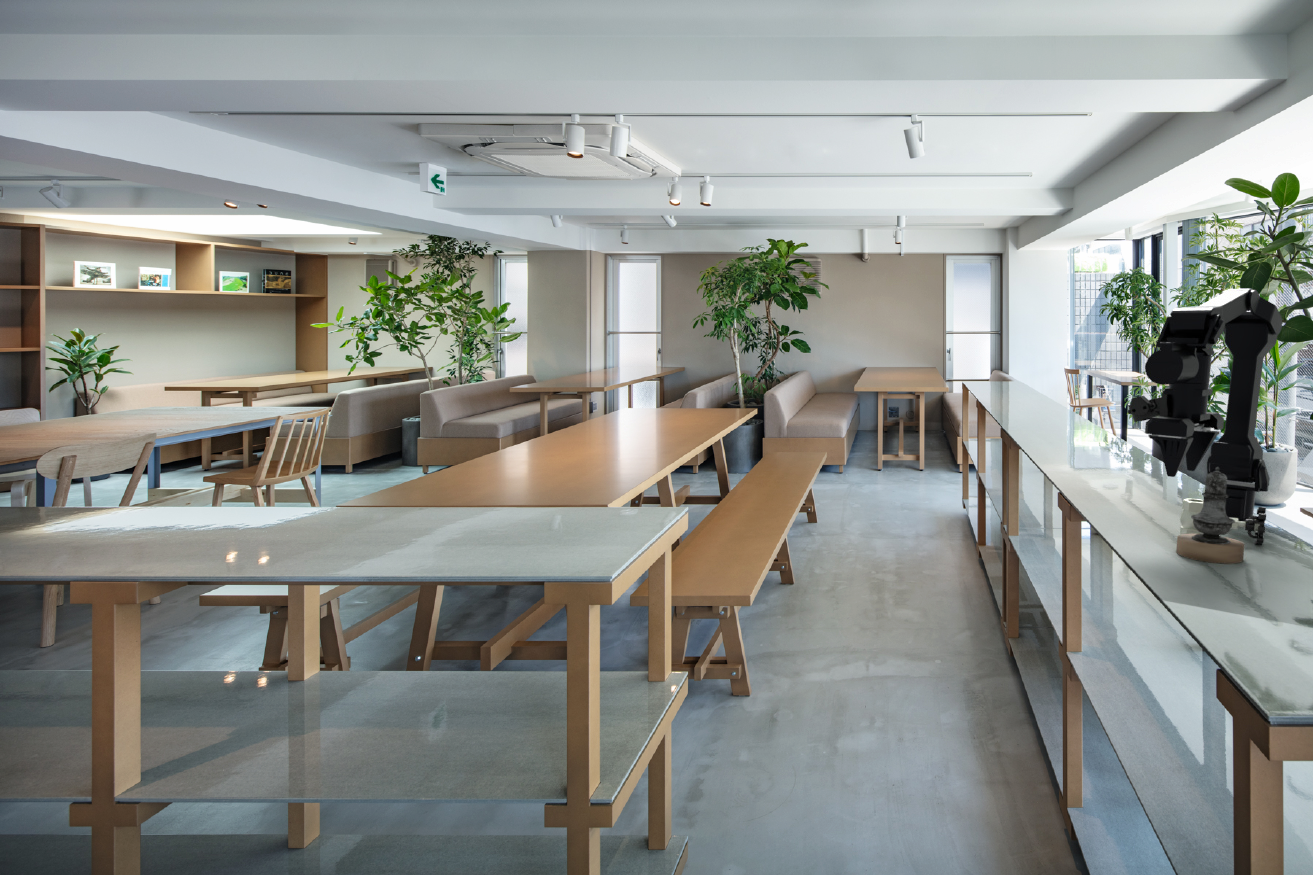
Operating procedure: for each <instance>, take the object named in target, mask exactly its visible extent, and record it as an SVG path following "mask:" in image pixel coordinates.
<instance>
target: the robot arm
mask: <svg viewBox="0 0 1313 875" xmlns="http://www.w3.org/2000/svg"><path fill="white" fill-rule="evenodd" d="M1282 327H1283V317H1282V315H1281V313H1280V311H1279V309H1278V307H1277V305H1276V304H1274V303H1272V302H1270V301H1269V300H1267V299H1265V298H1263V297H1261V296H1260V294H1259V292H1258V291H1257V289H1253V288H1229V289H1226V290H1223V291H1221V293H1220V294H1219V295H1217V296H1215V297H1213V298H1211V299H1210V300H1208V301H1206V302H1204V303H1202V304H1200V305H1198V306H1197V305H1196V306H1181V307H1176V308H1174V309H1173V310H1171V311H1170V314H1169V315H1168V316H1167V318H1166V319H1165V322H1164V324H1163V327H1162V329H1161V331H1160V333H1159V336H1158V339H1157V341H1156V343H1155V347H1156V348H1159V349H1158V350H1156V351H1155V352H1153V353H1152V354H1150V355H1149V357H1148V358H1147V360H1146V362H1145V364H1144V371H1145V374H1146V377H1147V378H1148V379H1149V380H1150V381H1151V382H1153V383H1154V384H1157V385H1168V387H1164V389H1162V392H1161V396H1159V397H1156V398H1152V399H1151V398H1150V399H1148V397H1146V396H1144V395H1141V396H1136V397H1132V398H1131V400H1130V404H1128V409H1127V414H1128V415H1131V416H1132V419H1133V422H1134V423H1138V422H1144V421H1146V422H1145V426H1144V427H1145V428H1144V434H1146V435H1148V438H1149V439H1152V440H1153V441H1154V442H1155V443H1156V444H1157V445H1158V446H1159V448H1160V452H1161V455H1162V460H1163V464H1164V469H1165V472H1166V475H1167V477H1171V478H1176V475H1177V474H1178V472H1179V470H1180V468H1181V465H1182V463H1183V462H1184V459H1185V464H1186V470H1187V471H1189V472H1190V471H1191V472H1195V471H1196V470H1197V468H1198V466H1199V465H1200V463H1201V462H1202V459H1203V458H1204V456H1205V455H1206V453H1207V452H1208V451H1209V448H1210V455H1209V456H1208V458H1207V460H1206V461H1207V462H1206V471H1207V472H1206V474H1207V475H1208V474H1209V473H1212V472H1214V471H1216V470H1215V469H1216V467H1219V469H1220V470H1219V472H1221V473H1223V474H1224V475H1226V477H1227V486H1226V495H1228V498H1226V503H1225V511H1226V515H1227V516H1228V517H1230V518H1238V521H1243V522H1245V520H1246V519H1249V517H1252V516H1255V514H1254V511H1255V502H1256V501H1255V499H1256V493H1259V492H1269V486H1270V475H1269V472H1268V469H1267V466H1266V463H1265V460H1264V459H1263V458H1264V449H1263V447H1262V446H1261V444H1260V443H1259V441H1258V439H1257V437H1256V436H1255V432H1256V424H1257V415H1258V408H1259V407H1258V406H1259V401H1260V400H1259V399H1260V391H1261V390H1260V389H1261V381H1262V374H1263V366H1264V358H1265V357H1266V356H1267V355H1268V353H1270V351H1271V350H1272V349H1273V347H1275V346H1276V344H1277V341H1278V340H1277V339H1278V336H1279V335H1280V333H1281V331H1282ZM1223 333H1224V344H1225V345H1226V347H1227V348H1228V351H1229V352H1230V353H1231V355H1232V362H1231V363H1232V364H1231V372H1230V373H1231V374H1230V380H1229V389H1228V390H1229V391H1228V399H1227V405H1226V406H1227V407H1226V414H1225V415H1226V416H1225V418H1224V417H1223V416H1222V415H1221V414H1220V413H1219V412H1211V411H1210V412H1209V411H1208V401H1209V396H1212V395H1213V390H1214V389H1213V388H1210V378H1211V377H1210V376H1211V367H1212V356H1213V355H1215V350H1214V348H1213V346H1214V345H1216V344H1217V342H1218V341H1219V339H1220V337H1221V335H1223ZM1224 422H1225V424H1224ZM1211 429H1213V430H1211ZM1223 429H1224V431H1223V434H1222V435H1221V437H1220V438H1218V440H1217V441H1215V440H1216V439H1217V437H1218V436H1219V435H1220V431H1219V430H1223Z"/></svg>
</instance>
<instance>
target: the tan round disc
mask: <svg viewBox="0 0 1313 875" xmlns="http://www.w3.org/2000/svg"><path fill="white" fill-rule="evenodd" d="M1194 535H1196V534H1181V535H1180V534H1179V535H1177V536H1176V537H1177V539H1176V550H1175V552H1176V554H1177V555H1179V556H1181V557H1183V558H1187V559H1190V560H1195V561H1199V562H1205V563H1206V562H1207V563H1212V564H1214V563H1215V564H1228V565H1229V564H1230V565H1231V564H1238V563H1242V562H1243V561H1244V556H1245V554H1244V553H1245V543H1244V542H1242V541H1241V540H1237V539H1234V538H1230V537H1227V536H1226V537H1225V536H1224V537H1225V538H1227V539H1228V540H1229V541H1231V543H1230V544H1225V545H1218V544H1208V543H1202V542H1198V541H1195V540H1193V539H1191V537H1192V536H1194Z"/></svg>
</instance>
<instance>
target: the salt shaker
mask: <svg viewBox="0 0 1313 875" xmlns="http://www.w3.org/2000/svg"><path fill="white" fill-rule="evenodd" d="M1215 470H1216V471H1214V472H1212V473H1209V474H1207V475H1206V477H1205V485H1204V492H1202V493H1201V496H1203V499H1202V500H1203V507H1202V510H1201V512H1200V513H1198V514H1196V515H1192V516H1191V518H1192V519H1193V524H1194V527H1195V528H1196V529H1197V530H1198V531H1199V532H1201V533H1204V534H1196V535H1194V536H1192V537H1191V539H1193V540H1195V541H1198V542H1202V543H1208V544H1218V545H1225V544H1230V543H1231V541H1229V540H1228V539H1227V538H1228V537H1227V538H1225V535H1227V534H1228V533H1229V532H1230V531H1231V530H1232V529H1231V528H1232V523H1235V520H1233V519H1231V518H1229V517H1228V516H1227V515H1226V511H1225V503H1226V498H1228V495H1226V486H1227V481H1228V480H1227V477H1226V475H1224V474H1223V473H1221V472H1219V470H1220V469H1219V467H1216V469H1215ZM1222 535H1223V536H1222Z"/></svg>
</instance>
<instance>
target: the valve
mask: <svg viewBox="0 0 1313 875" xmlns="http://www.w3.org/2000/svg"><path fill="white" fill-rule="evenodd" d="M1181 505H1182V507H1181V508H1182V512H1181V513H1180V516H1179V522H1180V524H1181V526H1180V527H1179V528H1180V529H1179V535H1181V534H1204V533H1201V532H1199V531H1198V530H1197V529H1196V528H1195V527H1194V524H1193V519H1192V518H1191V516H1192V515H1196V514H1198V513H1200V512H1201V510H1202V507H1203V499H1199V498H1185V499H1183V500H1182V504H1181ZM1266 509H1267V507H1265V506H1258V507H1257V509H1256V515H1254V516H1252V517H1249V519H1246V520H1245V522H1243V521H1238V518H1231V519H1233V520H1235V523H1232V528H1231V529H1230V530H1232V529H1233V530H1238V528H1244V531H1246V532H1247V535H1248V537H1250V538H1251V539H1253V540H1254V545H1255V546H1263V544H1264V543H1265V542H1264V541H1265V537H1264V534H1265V533H1266V526H1265V523H1266V520H1267V510H1266ZM1229 518H1230V517H1229ZM1252 532H1254V534H1252Z"/></svg>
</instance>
